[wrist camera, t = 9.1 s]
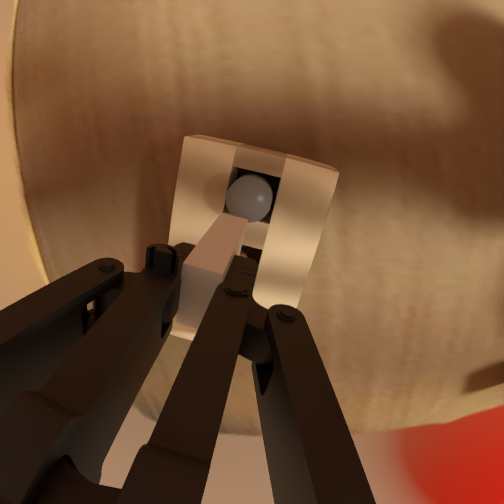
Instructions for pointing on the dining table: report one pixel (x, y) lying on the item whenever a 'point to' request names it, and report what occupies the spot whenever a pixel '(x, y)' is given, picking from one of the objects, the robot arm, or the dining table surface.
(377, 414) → the dining table surface
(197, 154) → the panel
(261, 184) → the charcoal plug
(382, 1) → the dining table surface
